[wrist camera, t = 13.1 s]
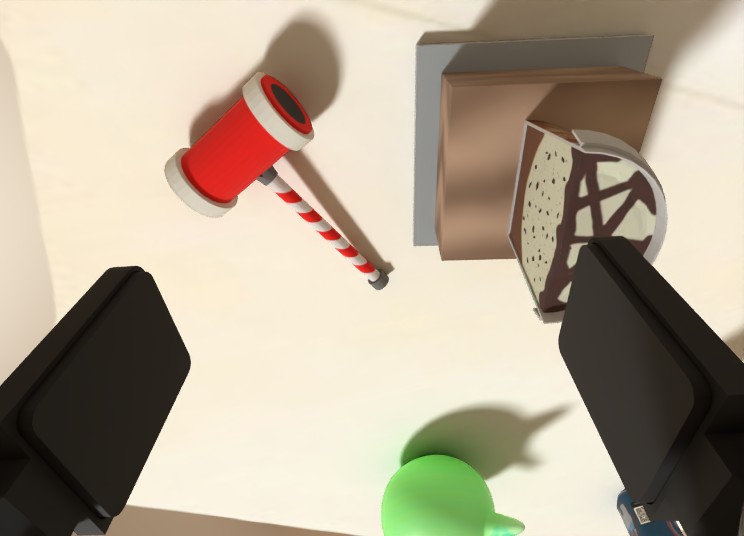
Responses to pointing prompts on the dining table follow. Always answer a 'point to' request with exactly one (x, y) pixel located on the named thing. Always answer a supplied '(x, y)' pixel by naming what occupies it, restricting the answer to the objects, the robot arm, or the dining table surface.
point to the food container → (578, 206)
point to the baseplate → (495, 58)
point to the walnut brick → (518, 140)
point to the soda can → (643, 519)
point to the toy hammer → (254, 161)
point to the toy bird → (442, 501)
